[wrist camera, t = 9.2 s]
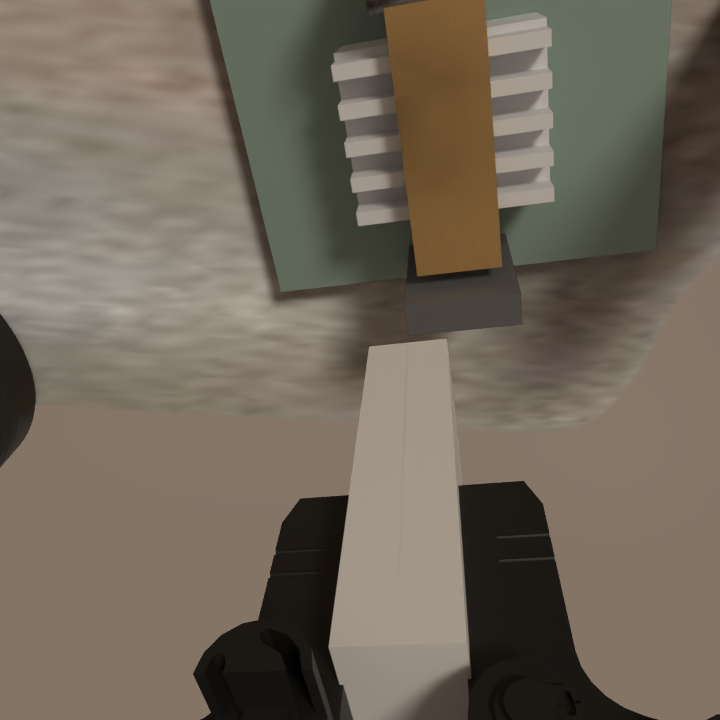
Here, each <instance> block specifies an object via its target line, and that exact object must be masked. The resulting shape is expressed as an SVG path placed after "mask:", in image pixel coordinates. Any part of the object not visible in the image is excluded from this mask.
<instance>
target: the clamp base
mask: <svg viewBox="0 0 720 720" xmlns="http://www.w3.org/2000/svg"><path fill="white" fill-rule="evenodd" d="M210 4H211V8H212V12H213V16H214V20H215V24H216V28H217V32H218V36H219V40H220V44H221V49H222V53H223V57H224V61H225V65H226V69H227V73H228V77H229V81H230V85H231V89H232V94H233V98H234V102H235V106H236V110H237V114H238V118H239V122H240V126H241V130H242V134H243V139H244V143H245V147H246V151H247V155H248V159H249V163H250V167H251V171H252V175H253V179H254V184H255V188H256V192H257V196H258V200H259V204H260V208H261V212H262V216H263V220H264V224H265V229H266V233H267V237H268V241H269V245H270V249H271V253H272V257H273V261H274V265H275V269H276V274H277V278H278V282H279V286H280V290H281V292H286V291H295V290H304V289H313V288H322V287H331V286H339V285H348V284H357V283H366V282H375V281H384V280H393V279H402V278H407V279H406V291H405V302H404V308H405V315H406V322H407V328H408V335H420V334H430V333H440V332H451V331H461V330H471V329H481V328H492V327H502V326H512V325H522V303H521V291H520V287H519V284H518V280H517V276H516V272H515V268H514V266H518V265H527V264H536V263H545V262H554V261H563V260H572V259H581V258H590V257H599V256H608V255H617V254H626V253H635V252H644V251H652V250H656V245H657V229H658V214H659V198H660V182H661V166H662V150H663V134H664V118H665V103H666V87H667V71H668V55H669V39H670V23H671V7H672V0H485V7H486V22H487V38H488V54H489V69H490V85H491V100H492V116H493V132H494V147H495V163H496V178H497V194H498V209H499V225H500V241H501V256H502V267H498V268H489V269H480V270H471V271H462V272H453V273H444V274H435V275H426V276H417V270H416V262H415V254H414V246H413V238H412V230H411V222H410V214H409V206H408V198H407V190H406V182H405V174H404V166H403V159H402V151H401V143H400V135H399V127H398V119H397V111H396V103H395V95H394V87H393V79H392V71H391V63H390V55H389V48H388V40H387V32H386V24H385V16H384V14H378V15H373V16H368V12H367V8H366V2H365V0H210Z"/></svg>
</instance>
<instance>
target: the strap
mask: <svg viewBox="0 0 720 720" xmlns="http://www.w3.org/2000/svg"><path fill="white" fill-rule="evenodd" d="M365 2H366V8H367V12H368V16H373V15H378V14H384V16H385V24H386V32H387V40H388V48H389V55H390V63H391V71H392V79H393V87H394V95H395V103H396V111H397V119H398V127H399V135H400V143H401V151H402V159H403V166H404V174H405V182H406V190H407V198H408V206H409V214H410V222H411V230H412V238H413V246H414V254H415V262H416V270H417V276H426V275H435V274H444V273H453V272H462V271H471V270H480V269H489V268H498V267H502V256H501V241H500V225H499V209H498V194H497V178H496V163H495V147H494V132H493V116H492V100H491V85H490V69H489V54H488V38H487V22H486V7H485V0H365Z"/></svg>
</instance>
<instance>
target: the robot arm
mask: <svg viewBox="0 0 720 720" xmlns="http://www.w3.org/2000/svg"><path fill="white" fill-rule="evenodd" d="M34 410H35V390H34V383H33V378H32V374H31V370H30V367H29V364H28V361H27V358H26V356H25V354H24V352H23V349H22V347H21V346H20V344H19V342H18V340H17V338H16V336H15V335H14V333H13V331H12V330H11V328H10V327H9V326H8V324H7V323H6V321H5V320H4V319H3V317H2V316H1V315H0V467H1V466H2V465H3V464H4V462H5V461H6V460H7V459H8V458H9V457H10V455H11V454H12V453H13V452H14V451H15V450H16V448H17V447H18V446H19V445H20V444H21V442H22V441H23V440H24V438H25V436H26V435H27V433H28V431H29V428H30V426H31V423H32V420H33V415H34ZM193 675H194V677H195V679H196V681H197V683H198V685H199V688H200V690H201V692H202V694H203V696H204V698H205V700H206V703H207V705H208V707H209V709H210V711H211V713H210V714H209V715H208V716H206V717H205V718H203V719H201V720H657V719H653V718H650V717H646V716H643V715H641V714H638V713H636V712H633V711H631V710H628V709H626V708H624V707H622V706H620V705H619V704H617V703H615V702H614V701H613V700H611V699H610V698H608V697H607V696H605V695H604V694H603V693H602V692H601V691H600V690H599V689H598V688H597V687H596V686H595V685H594V684H593V683H592V682H591V681H590V679H589V678H588V676H587V675H586V673H585V672H584V670H583V669H582V667H581V665H580V662H579V659H578V657H577V654H576V651H575V647H574V643H573V638H572V634H571V629H570V625H569V620H568V615H567V611H566V606H565V602H564V597H563V593H562V589H561V584H560V579H559V575H558V570H557V566H556V562H555V559H554V552H553V548H552V543H551V538H550V536H549V529H548V525H547V521H546V516H545V511H544V507H543V504H542V503H541V501H540V500H539V499H538V497H536V495H535V494H534V493H533V492H532V490H531V489H530V488H529V487H528V486H527V484H526V483H525V482H524V481H518V482H503V483H488V484H474V485H462V477H461V463H460V451H459V441H458V433H457V424H456V415H455V406H454V397H453V388H452V379H451V370H450V361H449V353H448V344H447V339H438V340H428V341H419V342H409V343H399V344H390V345H380V346H370V347H369V351H368V359H367V366H366V374H365V381H364V388H363V396H362V403H361V411H360V418H359V425H358V433H357V440H356V448H355V455H354V462H353V470H352V477H351V485H350V492H349V495H347V496H346V495H345V496H331V497H317V498H303V499H300V500H299V501H298V503H297V504H296V505H295V507H294V508H293V509H292V511H291V512H290V513H289V515H288V516H287V517H286V518H285V520H284V521H283V522H282V526H281V530H280V534H279V538H278V542H277V546H276V555H274V558H273V563H272V566H271V571H270V578H269V579H268V582H267V587H266V591H265V595H264V599H263V603H262V607H261V611H260V615H259V619H258V621H252V622H248V623H243V624H241V625H239V626H237V627H235V628H233V629H232V630H230V631H228V632H226V633H224V634H223V635H221V636H220V637H219V638H218V639H217V640H216V641H215V642H214V643H213V644H212V645H211V646H210V647H209V648H208V649H207V650H206V651H205V652H204V653H203V655H202V658H201V659H200V661H199V663H198V665H197V667H196V669H195V671H194V673H193ZM707 720H720V714H719V715H715V716H713V717H711V718H709V719H707Z"/></svg>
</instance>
